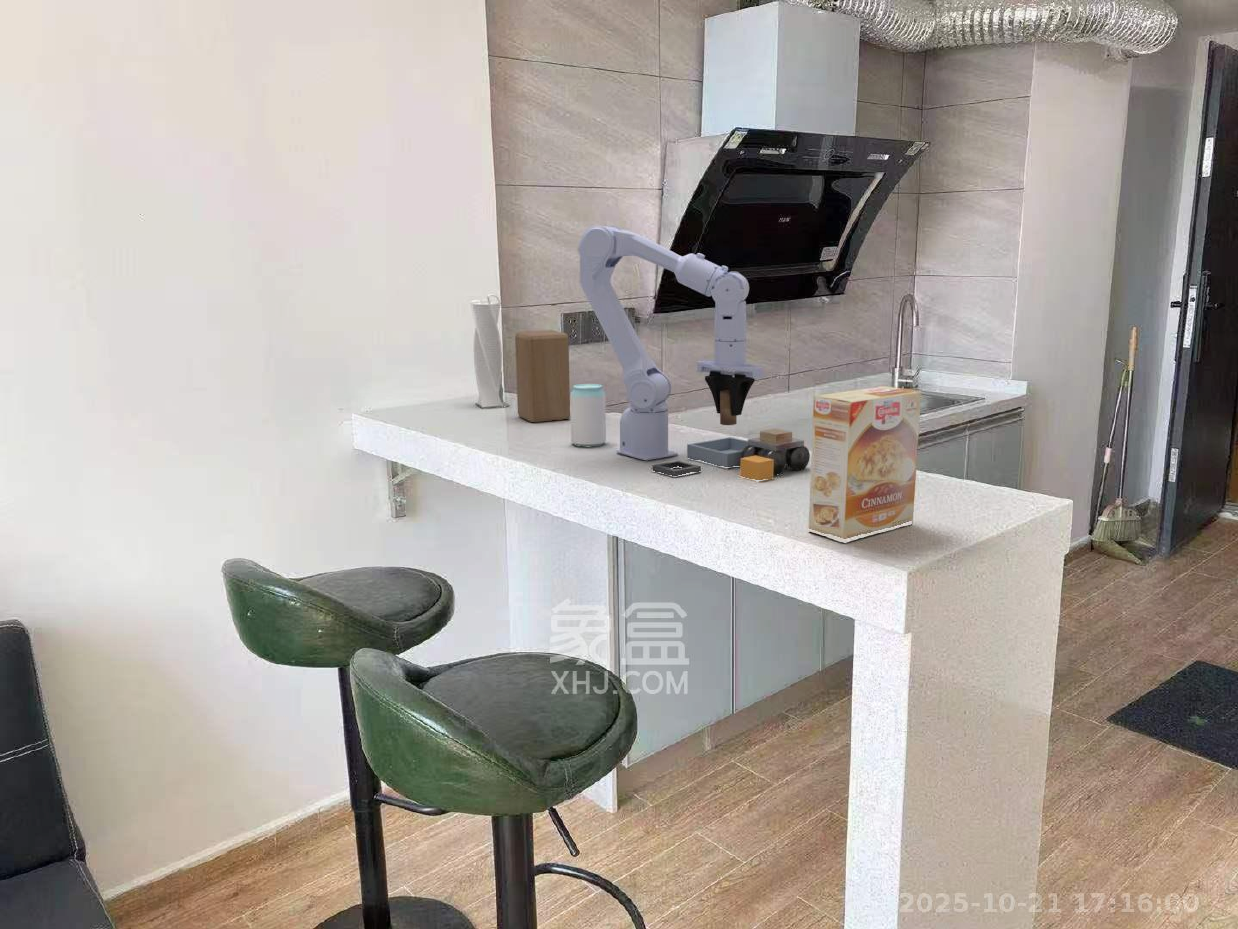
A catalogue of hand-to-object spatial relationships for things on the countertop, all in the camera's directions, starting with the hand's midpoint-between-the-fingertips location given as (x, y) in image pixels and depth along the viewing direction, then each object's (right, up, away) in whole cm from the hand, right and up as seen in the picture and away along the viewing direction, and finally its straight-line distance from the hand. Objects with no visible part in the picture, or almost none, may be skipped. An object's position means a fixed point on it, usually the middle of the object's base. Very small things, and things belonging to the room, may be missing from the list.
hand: (729, 413), depth 180 cm
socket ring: (-10, -11, -7) cm, 16 cm away
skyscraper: (-52, +5, +64) cm, 83 cm away
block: (-38, +1, +47) cm, 60 cm away
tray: (0, -8, +2) cm, 9 cm away
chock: (+3, -12, -12) cm, 17 cm away
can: (-27, -5, +17) cm, 32 cm away
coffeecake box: (+14, -19, -42) cm, 48 cm away
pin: (0, -2, 0) cm, 2 cm away
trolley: (+8, -10, -6) cm, 14 cm away
